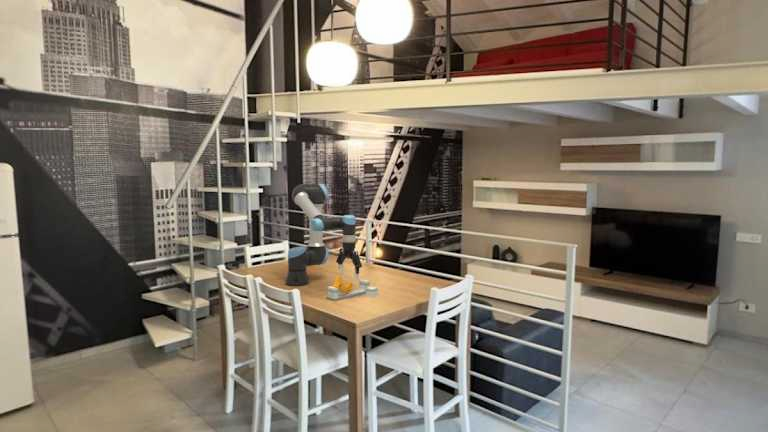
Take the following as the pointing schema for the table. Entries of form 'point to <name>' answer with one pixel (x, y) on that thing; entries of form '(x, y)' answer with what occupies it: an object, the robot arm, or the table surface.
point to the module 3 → (372, 292)
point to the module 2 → (364, 284)
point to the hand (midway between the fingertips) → (348, 276)
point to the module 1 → (332, 292)
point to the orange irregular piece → (342, 285)
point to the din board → (348, 295)
